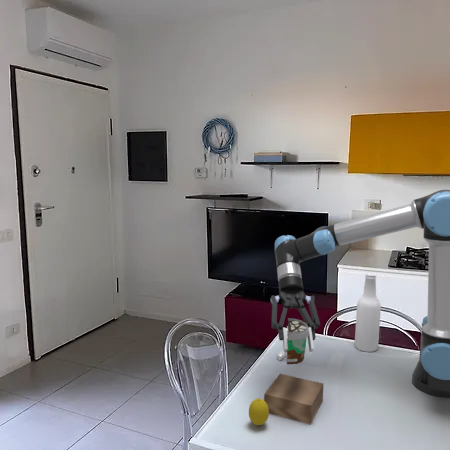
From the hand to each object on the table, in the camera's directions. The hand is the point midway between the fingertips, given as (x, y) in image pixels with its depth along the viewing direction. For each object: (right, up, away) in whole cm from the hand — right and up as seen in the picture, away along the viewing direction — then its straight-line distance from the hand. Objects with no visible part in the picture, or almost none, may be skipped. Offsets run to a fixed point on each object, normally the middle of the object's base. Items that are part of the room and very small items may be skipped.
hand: (298, 350), depth 131 cm
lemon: (-12, -20, -5) cm, 23 cm away
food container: (0, -3, +3) cm, 5 cm away
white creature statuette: (+3, -13, +38) cm, 41 cm away
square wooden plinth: (-1, -18, +5) cm, 19 cm away
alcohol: (+34, -12, +48) cm, 60 cm away
